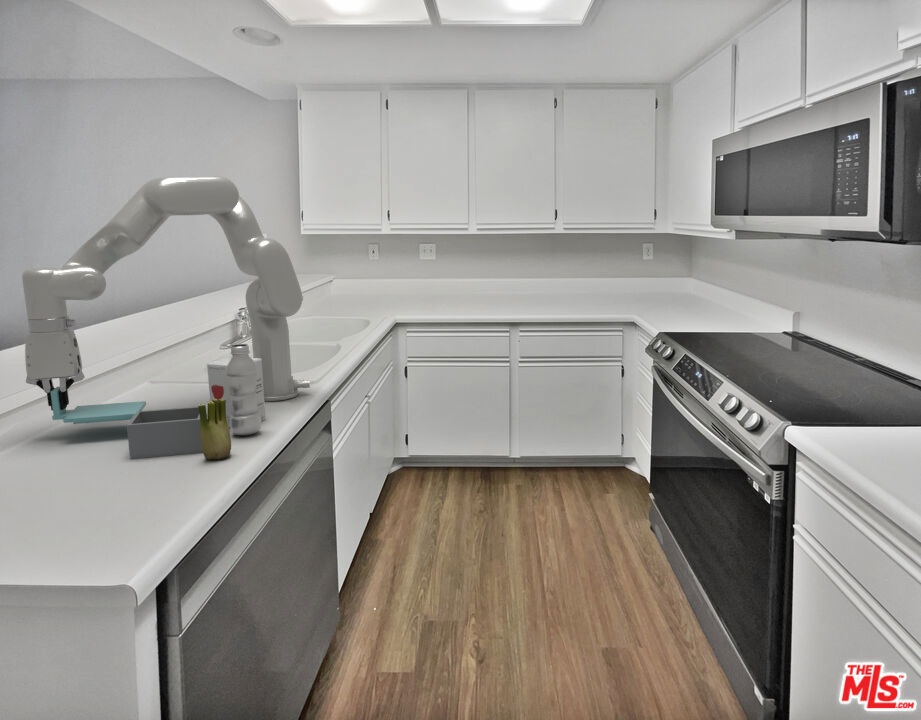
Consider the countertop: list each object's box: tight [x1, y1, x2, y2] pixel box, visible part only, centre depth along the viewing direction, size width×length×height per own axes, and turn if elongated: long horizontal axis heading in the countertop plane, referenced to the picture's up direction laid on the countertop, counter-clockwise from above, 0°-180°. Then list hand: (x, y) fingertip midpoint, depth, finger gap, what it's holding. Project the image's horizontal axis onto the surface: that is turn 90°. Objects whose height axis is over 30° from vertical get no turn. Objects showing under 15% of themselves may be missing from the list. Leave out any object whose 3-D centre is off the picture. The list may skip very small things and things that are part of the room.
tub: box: [126, 405, 207, 460], centre depth 151 cm, size 14×11×7 cm
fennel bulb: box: [197, 399, 232, 461], centre depth 143 cm, size 6×5×12 cm
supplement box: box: [206, 355, 266, 429], centre depth 168 cm, size 9×9×15 cm
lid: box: [51, 385, 147, 425], centre depth 161 cm, size 18×12×7 cm, turn 104°
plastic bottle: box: [226, 343, 262, 436], centre depth 158 cm, size 6×7×20 cm
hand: (59, 408), depth 159 cm, fingers closed on lid, 1 cm apart
